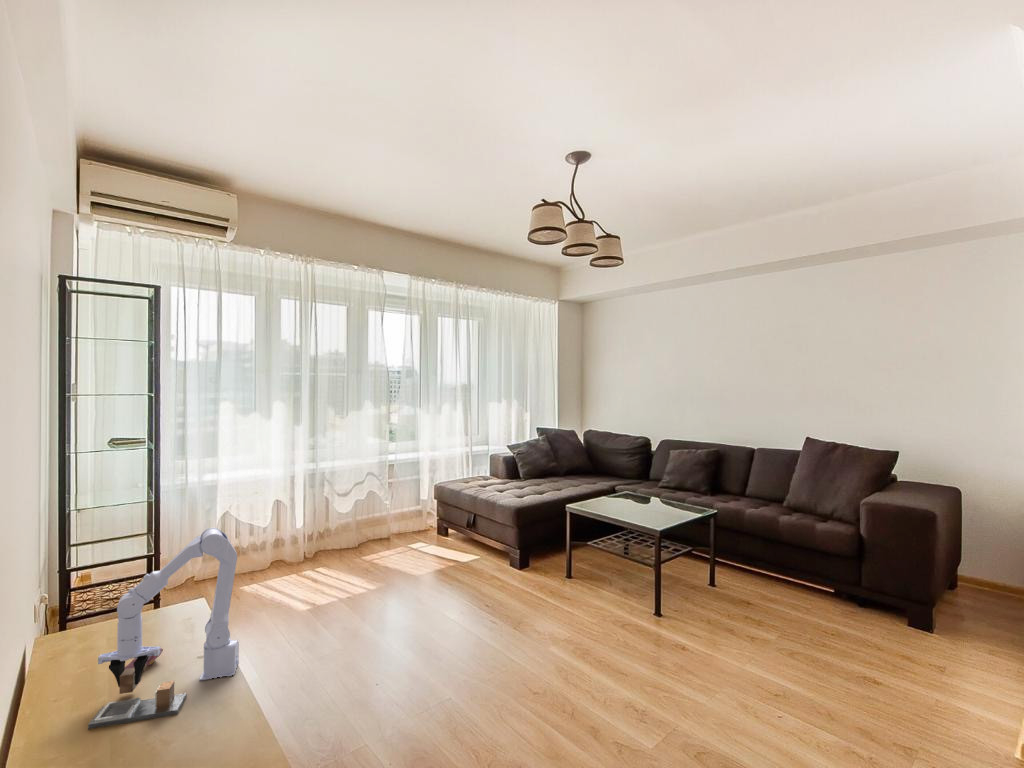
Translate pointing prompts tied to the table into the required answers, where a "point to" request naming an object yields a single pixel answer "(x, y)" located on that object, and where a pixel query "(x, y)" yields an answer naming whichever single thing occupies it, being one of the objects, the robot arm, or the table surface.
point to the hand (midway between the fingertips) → (129, 683)
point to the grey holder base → (140, 708)
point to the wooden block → (127, 681)
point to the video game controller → (149, 662)
